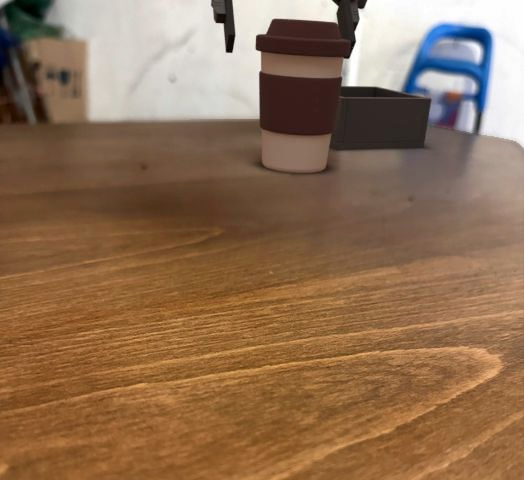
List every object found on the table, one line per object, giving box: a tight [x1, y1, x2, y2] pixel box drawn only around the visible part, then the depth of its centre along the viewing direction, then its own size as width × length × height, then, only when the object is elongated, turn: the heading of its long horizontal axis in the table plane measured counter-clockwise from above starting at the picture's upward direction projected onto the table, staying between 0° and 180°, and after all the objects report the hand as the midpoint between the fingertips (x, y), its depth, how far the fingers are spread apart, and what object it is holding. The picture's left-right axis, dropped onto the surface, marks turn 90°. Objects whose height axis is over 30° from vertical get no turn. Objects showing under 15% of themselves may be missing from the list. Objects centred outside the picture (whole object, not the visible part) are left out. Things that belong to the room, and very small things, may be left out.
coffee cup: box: [254, 18, 351, 174], centre depth 72 cm, size 10×10×15 cm
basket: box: [329, 85, 432, 151], centre depth 93 cm, size 14×14×6 cm
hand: (291, 47), depth 74 cm, fingers open, 13 cm apart
